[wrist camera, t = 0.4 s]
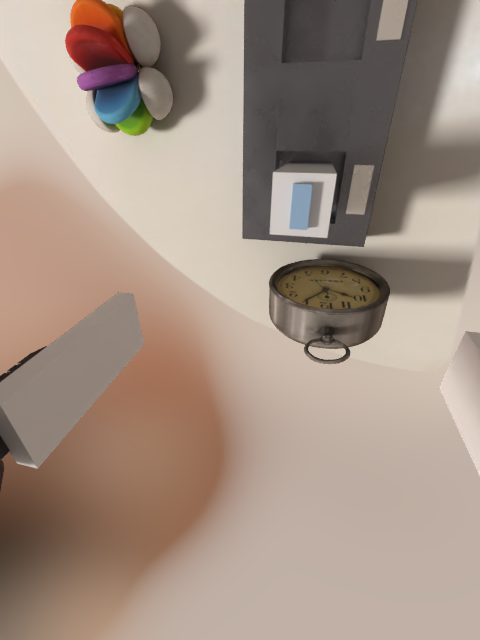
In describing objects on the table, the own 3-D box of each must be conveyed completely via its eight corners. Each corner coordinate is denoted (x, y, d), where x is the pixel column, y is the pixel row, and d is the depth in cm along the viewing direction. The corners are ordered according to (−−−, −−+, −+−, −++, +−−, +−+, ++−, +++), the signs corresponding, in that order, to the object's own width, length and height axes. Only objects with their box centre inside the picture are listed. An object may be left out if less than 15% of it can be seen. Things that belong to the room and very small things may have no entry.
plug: (289, 161, 30) (271, 173, 19) (331, 162, 29) (337, 174, 18) (286, 204, 32) (268, 236, 21) (325, 206, 31) (327, 240, 20)
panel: (255, -60, 23) (244, -92, 20) (425, -81, 21) (444, -121, 18) (249, 230, 34) (242, 239, 31) (359, 236, 32) (364, 247, 29)
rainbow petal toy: (156, -3, 26) (107, -46, 20) (184, 127, 31) (150, 123, 25) (77, 27, 29) (12, -4, 23) (114, 143, 33) (68, 143, 27)
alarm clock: (378, 257, 33) (419, 340, 19) (369, 302, 35) (399, 402, 22) (278, 253, 35) (250, 324, 21) (276, 295, 38) (251, 381, 24)
